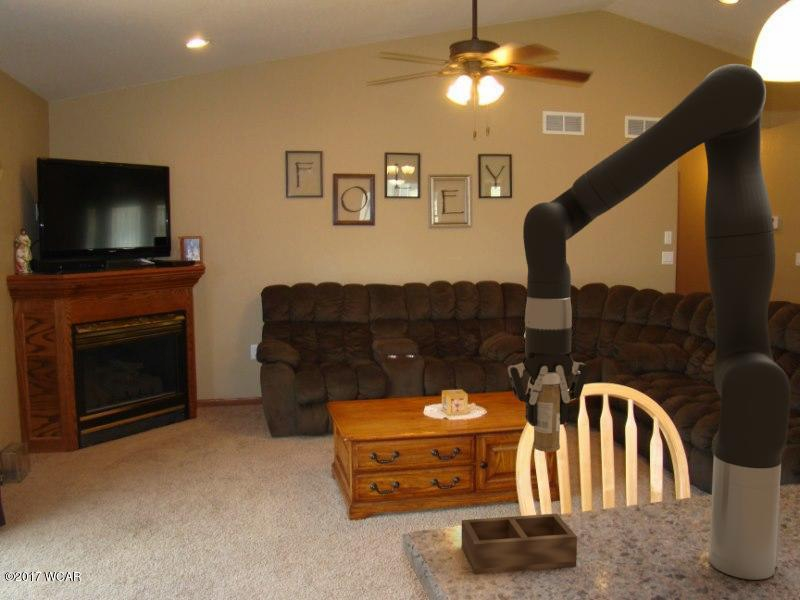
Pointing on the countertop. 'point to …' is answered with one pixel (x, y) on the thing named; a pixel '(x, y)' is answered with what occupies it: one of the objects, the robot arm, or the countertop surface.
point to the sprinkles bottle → (548, 414)
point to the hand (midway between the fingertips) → (546, 423)
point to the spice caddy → (518, 543)
